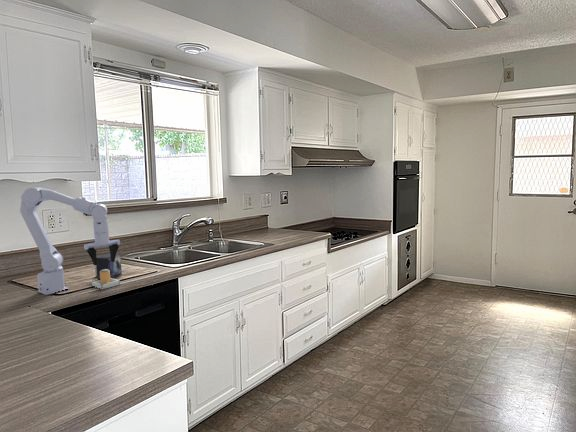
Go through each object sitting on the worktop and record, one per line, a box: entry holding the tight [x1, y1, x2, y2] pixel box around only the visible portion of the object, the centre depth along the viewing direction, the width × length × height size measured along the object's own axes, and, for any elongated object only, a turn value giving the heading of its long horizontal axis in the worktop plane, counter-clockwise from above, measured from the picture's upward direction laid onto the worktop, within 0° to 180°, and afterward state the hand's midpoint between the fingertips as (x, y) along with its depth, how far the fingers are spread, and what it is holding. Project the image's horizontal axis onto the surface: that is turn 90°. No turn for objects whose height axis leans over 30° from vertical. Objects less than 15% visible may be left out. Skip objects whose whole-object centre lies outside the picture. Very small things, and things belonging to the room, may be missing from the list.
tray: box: [91, 278, 121, 290], centre depth 189 cm, size 8×8×2 cm
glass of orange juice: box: [100, 269, 111, 284], centre depth 189 cm, size 4×4×6 cm
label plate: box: [94, 265, 97, 277], centre depth 206 cm, size 6×1×5 cm, turn 142°
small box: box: [95, 252, 123, 280], centre depth 203 cm, size 11×6×10 cm, turn 167°
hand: (104, 263), depth 188 cm, fingers open, 7 cm apart
